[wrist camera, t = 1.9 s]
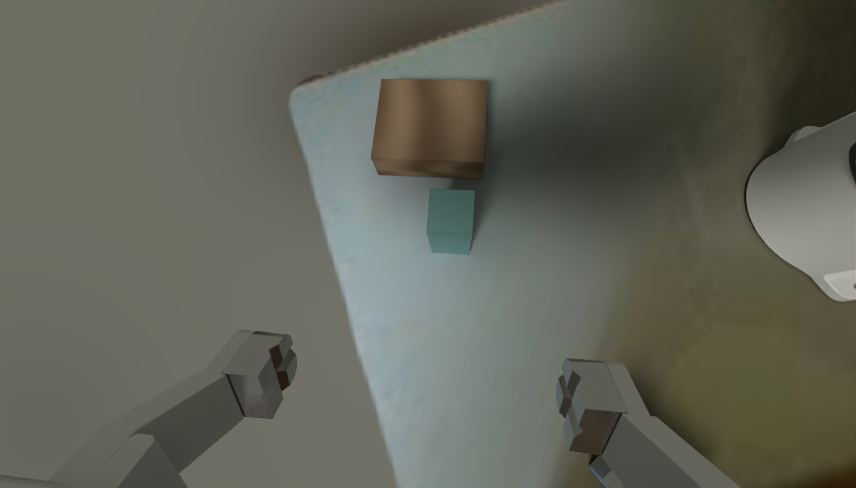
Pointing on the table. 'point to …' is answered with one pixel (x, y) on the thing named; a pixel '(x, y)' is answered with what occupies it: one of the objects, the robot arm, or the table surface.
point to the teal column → (450, 220)
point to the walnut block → (431, 128)
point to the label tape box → (605, 473)
